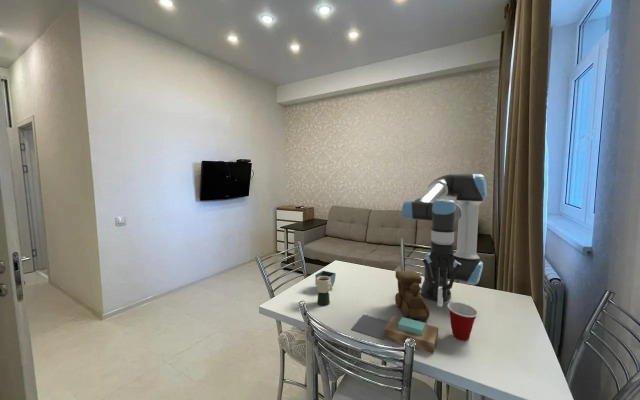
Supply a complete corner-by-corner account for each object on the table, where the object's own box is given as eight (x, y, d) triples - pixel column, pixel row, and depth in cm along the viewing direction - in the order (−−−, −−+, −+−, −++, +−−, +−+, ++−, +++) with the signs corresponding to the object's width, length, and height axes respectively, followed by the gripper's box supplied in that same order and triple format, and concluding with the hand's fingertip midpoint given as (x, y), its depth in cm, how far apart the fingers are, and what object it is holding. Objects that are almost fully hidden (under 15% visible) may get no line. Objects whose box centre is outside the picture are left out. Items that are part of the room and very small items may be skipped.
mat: (393, 323, 117) (393, 322, 117) (383, 340, 105) (383, 339, 105) (363, 315, 125) (363, 314, 125) (350, 329, 113) (350, 329, 113)
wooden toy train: (393, 302, 137) (393, 270, 136) (415, 302, 137) (416, 270, 136) (405, 323, 117) (406, 286, 116) (431, 323, 117) (432, 286, 116)
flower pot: (336, 288, 155) (336, 273, 154) (328, 293, 147) (328, 278, 146) (323, 285, 159) (323, 270, 159) (314, 290, 152) (314, 274, 151)
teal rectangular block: (425, 327, 107) (425, 323, 106) (422, 335, 101) (422, 330, 101) (402, 321, 111) (402, 317, 111) (398, 328, 106) (398, 323, 106)
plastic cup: (475, 349, 100) (477, 317, 99) (443, 339, 106) (444, 309, 105) (478, 334, 109) (479, 306, 108) (448, 326, 115) (449, 299, 114)
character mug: (336, 304, 135) (336, 278, 134) (327, 309, 130) (327, 283, 129) (320, 297, 143) (320, 273, 142) (310, 302, 137) (310, 277, 136)
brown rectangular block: (438, 337, 107) (438, 327, 107) (433, 354, 97) (433, 343, 97) (393, 324, 116) (393, 315, 116) (384, 338, 106) (384, 329, 106)
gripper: (463, 242, 98) (460, 305, 100) (425, 238, 105) (423, 297, 106) (461, 246, 92) (459, 313, 93) (421, 242, 98) (419, 304, 100)
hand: (440, 304), depth 100 cm, fingers closed
